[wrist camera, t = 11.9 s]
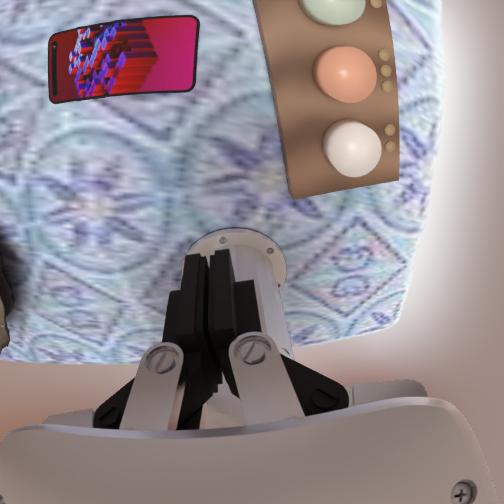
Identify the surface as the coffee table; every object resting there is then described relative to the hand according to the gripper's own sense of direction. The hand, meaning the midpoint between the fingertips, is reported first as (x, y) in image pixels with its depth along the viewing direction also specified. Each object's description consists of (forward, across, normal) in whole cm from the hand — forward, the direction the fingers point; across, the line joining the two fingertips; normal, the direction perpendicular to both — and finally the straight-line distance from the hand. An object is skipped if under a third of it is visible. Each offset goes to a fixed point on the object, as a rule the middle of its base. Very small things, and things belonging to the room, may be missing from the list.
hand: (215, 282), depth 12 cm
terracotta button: (+18, -12, -7) cm, 22 cm away
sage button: (+17, -11, -14) cm, 24 cm away
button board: (+20, -12, -7) cm, 24 cm away
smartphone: (+20, +8, -11) cm, 24 cm away
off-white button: (+18, -12, 0) cm, 22 cm away
